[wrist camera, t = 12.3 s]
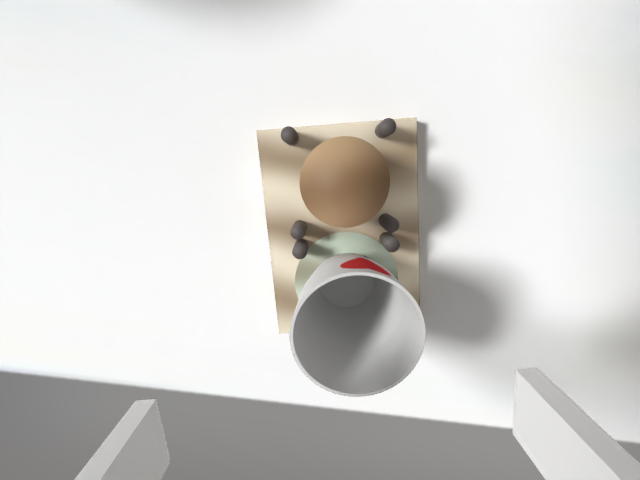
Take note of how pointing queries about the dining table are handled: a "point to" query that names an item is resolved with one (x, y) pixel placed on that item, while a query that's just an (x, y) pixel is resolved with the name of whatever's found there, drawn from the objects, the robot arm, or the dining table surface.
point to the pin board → (324, 240)
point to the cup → (356, 327)
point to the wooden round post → (344, 181)
